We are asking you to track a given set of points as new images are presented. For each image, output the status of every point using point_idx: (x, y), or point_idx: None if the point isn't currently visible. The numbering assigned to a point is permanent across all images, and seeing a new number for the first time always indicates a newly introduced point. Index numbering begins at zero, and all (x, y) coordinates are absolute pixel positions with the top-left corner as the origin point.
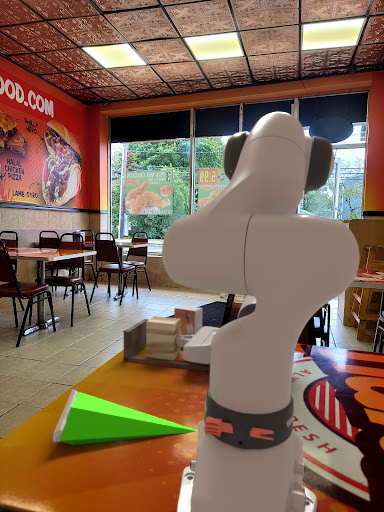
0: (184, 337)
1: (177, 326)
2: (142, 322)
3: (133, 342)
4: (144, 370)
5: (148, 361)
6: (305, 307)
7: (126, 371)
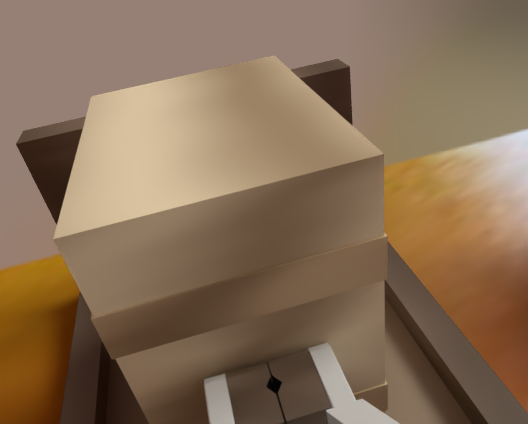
0: (328, 418)
1: (245, 255)
2: None
3: None
4: (34, 418)
5: (71, 381)
6: None
7: (6, 353)
